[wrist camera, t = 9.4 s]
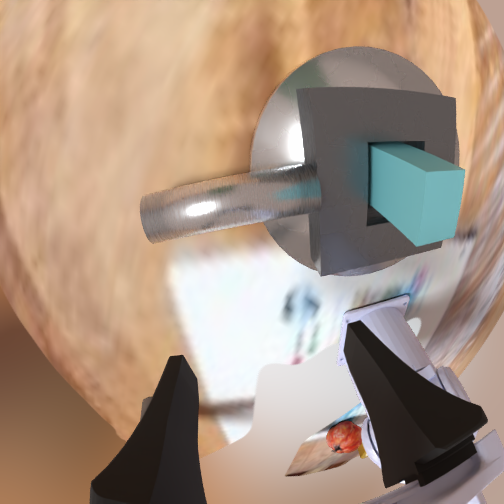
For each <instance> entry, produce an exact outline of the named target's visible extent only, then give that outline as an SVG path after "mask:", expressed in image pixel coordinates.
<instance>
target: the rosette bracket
mask: <svg viewBox="0 0 504 504" xmlns="http://www.w3.org/2000/svg"><path fill="white" fill-rule="evenodd" d="M386 141H399V142H402V143H405V144H407V145H410V146H413V147H415V148H418V149H420V150H423V151H425V152H427V153H430V154H432V155H434V156H437V157H439V158H441V159H443V160H446V161H448V162H450V163H452V164H454V165H456V166H458V167H459V141H458V135H457V129H456V98H453V97H448V96H443V95H442V93H441V92H440V90H439V89H438V87H437V86H436V85H435V84H434V82H433V81H432V80H431V79H430V78H429V77H428V76H427V75H426V74H425V73H424V72H423V71H422V70H421V69H420V68H418V67H417V66H416V65H414V64H413V63H412V62H410V61H408V60H406V59H405V58H403V57H401V56H399V55H397V54H394V53H392V52H389V51H386V50H382V49H378V48H372V47H355V46H354V47H346V48H339V49H336V50H332V51H329V52H326V53H323V54H320V55H317V56H315V57H313V58H312V59H310V60H308V61H306V62H304V63H302V64H301V65H300V66H298V67H297V68H295V69H294V70H293V71H291V72H290V73H289V74H288V75H287V76H286V77H285V78H284V79H283V80H282V81H281V82H280V83H279V84H278V85H277V87H276V88H275V89H274V91H273V92H272V94H271V95H270V96H269V98H268V99H267V101H266V103H265V105H264V107H263V109H262V111H261V113H260V115H259V118H258V121H257V124H256V126H255V129H254V132H253V138H252V143H251V149H250V166H249V168H250V172H248V173H242V174H237V175H232V176H226V177H221V178H216V179H211V180H207V181H202V182H197V183H193V184H188V185H184V186H180V187H175V188H171V189H167V190H163V191H159V192H155V193H151V194H147V195H144V196H143V197H142V199H141V203H140V215H141V221H142V225H143V229H144V232H145V234H146V236H147V238H148V240H149V241H150V242H151V243H153V244H154V243H159V242H163V241H168V240H173V239H178V238H183V237H187V236H192V235H197V234H202V233H207V232H212V231H217V230H222V229H228V228H233V227H238V226H243V225H249V224H254V223H259V222H264V224H265V226H266V228H267V230H268V231H269V233H270V235H271V236H272V237H273V239H274V240H275V241H276V242H277V244H278V245H279V246H280V247H281V248H282V249H283V250H284V251H285V252H286V253H287V254H288V255H289V256H291V257H292V258H294V259H295V260H296V261H298V262H299V263H301V264H303V265H305V266H307V267H309V268H311V269H313V270H316V271H318V272H319V274H320V276H326V275H330V274H331V275H338V276H356V275H364V274H369V273H373V272H376V271H379V270H382V269H385V268H387V267H389V266H392V265H394V264H395V263H397V262H399V261H401V260H402V259H404V258H405V257H407V256H410V255H414V254H418V253H422V252H426V251H429V250H433V249H437V248H441V245H442V241H443V240H441V241H438V242H434V243H430V244H426V245H422V246H417V247H416V246H415V245H414V244H413V243H412V242H411V241H410V240H409V239H408V238H407V237H406V236H405V235H404V234H403V233H402V232H401V231H400V230H398V229H397V228H396V227H395V226H394V225H393V224H392V223H391V222H390V221H388V220H387V219H386V218H385V217H384V216H383V215H382V214H381V213H379V212H378V211H377V210H376V209H375V208H374V207H372V206H371V205H370V204H369V203H368V142H386Z"/></svg>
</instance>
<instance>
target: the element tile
mask: <svg viewBox="0 0 504 504" xmlns="http://www.w3.org/2000/svg"><path fill="white" fill-rule="evenodd" d="M358 451H359V454H360V457H361V458H366V457H368V455H367V453H366V451H365V449H364V446H363V443H362V444H361V445H360V446H359V448H358Z"/></svg>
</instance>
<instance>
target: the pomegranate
mask: <svg viewBox="0 0 504 504" xmlns="http://www.w3.org/2000/svg"><path fill="white" fill-rule="evenodd" d="M361 430H362V429H361V427H359V426H357V425H355V424H354V423H352V422H351V421H344V422H340V423H339V424H337V425H336V426H334V427H332V428H331V429H330V430H329V431H328V433H327V436H326V441H327V444H328V445H329V447H331V448H332V449H333V450H332V452H337V453H344V452H345V453H350V452H353V451H355V450H357V449H358V447H359V446H360V445H361V444H362V438H361Z"/></svg>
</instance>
